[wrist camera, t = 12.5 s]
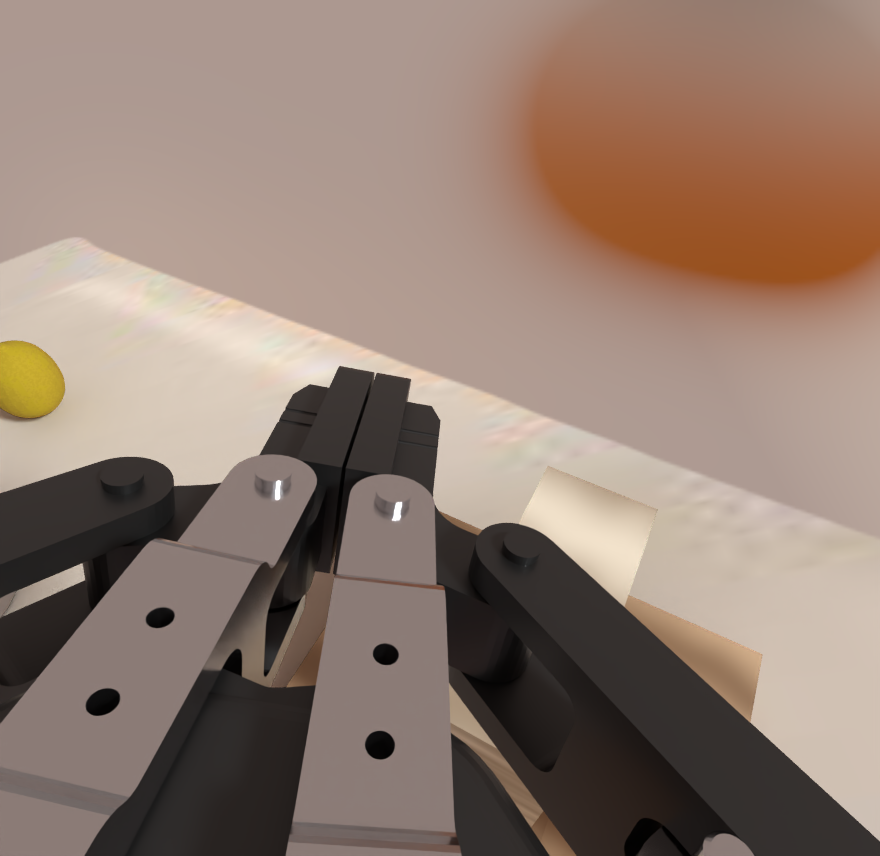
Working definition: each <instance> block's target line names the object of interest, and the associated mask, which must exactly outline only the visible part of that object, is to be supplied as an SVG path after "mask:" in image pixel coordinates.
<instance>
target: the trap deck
mask: <svg viewBox="0 0 880 856" xmlns="http://www.w3.org/2000/svg"><path fill="white" fill-rule="evenodd" d="M439 512H440V511H439ZM440 513H441V514H442V515H443V516H444V517H445V518H446V519H447V520H448V521H450V522H451V523H453V524H454V525H456V526H457V527H460V528H462V529H464V530H466V531H468V532H471V533H473V534H476V535H479V534H480V533H481V531H482V530H480V529H478V528H476V527H474V526H471V525H469V524H467V523H465V522H462V521H460V520H458V519H456V518H453V517H451V516H449V515H447V514H444V513H442V512H440ZM625 608H626V609H627V610H628V611H629V612H630V613H631V614H633V615H634V616H635V617H636V618H637V619H638V620H639V621H640V622H641V623H642V624H643V625H645V626H646V627H647V628H648V629H649V630H650V631H651V632H652V633H653V634H654V635H655V636H656V637H658V638H659V639H660V640H661V641H662V642H663V643H664V644H665V645H666V646H667V647H668V648H670V649H671V650H672V651H673V652H674V653H675V654H676V655H677V656H678V657H679V658H680V659H682V660H683V661H684V662H685V663H686V664H687V665H688V666H689V667H690V668H691V669H692V670H694V671H695V672H696V673H697V674H698V675H699V676H700V677H701V678H702V679H703V680H704V681H705V682H707V683H708V684H709V685H710V686H711V687H712V688H713V689H714V690H715V691H716V692H717V693H719V694H720V695H721V696H722V697H723V698H724V699H725V700H726V701H727V702H728V703H729V704H731V705H732V706H733V707H734V708H735V709H736V710H737V711H738V712H739V713H740V714H741V715H743V716H744V717H745V718H746V719H747V720H748V721H749V722H750V721H751V715H752V710H753V704H754V699H755V693H756V687H757V682H758V676H759V671H760V665H761V660H762V654H760V653H758V652H756V651H754V650H751V649H749V648H747V647H745V646H742V645H740V644H738V643H736V642H733V641H731V640H729V639H726V638H724V637H722V636H720V635H717V634H715V633H713V632H711V631H708V630H706V629H704V628H702V627H699V626H697V625H695V624H693V623H690V622H688V621H686V620H684V619H681V618H679V617H677V616H675V615H672V614H670V613H668V612H666V611H663V610H661V609H659V608H656V607H654V606H652V605H650V604H647V603H645V602H643V601H641V600H638V599H636V598H634V597H632V596H629V595H628V598H627V601H626V604H625ZM325 629H326V627H325ZM325 629H324V630H323V632H322V633H321V635H320V636H319V638H318V639H317V641H316V642H315V644H314V645H313V647H312V648H311V650H310V652H309V653H308V655H307V656H306V658H305V659H304V661H303V662H302V664H301V665H300V667H299V668H298V670H297V671H296V673H295V674H294V676H293V677H292V679H291V680H290V682H289V683H288V685H287V686H286V687H296V686H311V685H316V682H317V676H318V670H319V664H320V659H321V653H322V647H323V641H324V635H325ZM531 828H532V830H533V831H534V833H535V834H536V836H537V837H538V839H539V840H540V842H541V843H542V845H543V846H544V848H545V849H546V851H547V852H548V854H549V855H550V856H576V854H575V853H574V852H573V850H572V849H571V848H570V846H569V845H568V843H567V842H566V841H565V839H564V838H563V837H562V835H561V834H560V833H559V831H558V830H557V829H556V827H555V826H554V825H553V823H552V822H551V821H550V819H549V818H548V816H547V815H546V814H545V812H544V811H543V812H542V814H541V815H540V816H539V818H538V819H537V820H536V822H535V823H534V824H533V826H532V827H531Z"/></svg>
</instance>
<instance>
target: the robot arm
mask: <svg viewBox="0 0 880 856" xmlns="http://www.w3.org/2000/svg"><path fill="white" fill-rule="evenodd" d="M410 383H411V379H408V378H403V377H397V376H392V375H386V374H381V373H377V374H376V377H375V380H374V372H369V371H364V370H358V369H353V368H347V367H342V366H339V368H338V370H337V372H336V374H335V376H334V379H333V381H332V383H331V385H330V387H329V388H327V387H322V386H316V385H311V384H310V385H308V386H306V387H305V388H303V389H301V390H300V391H298V392H296V393H295V394H293V396H292V397H291V399H290V401H289V403H288V405H287V406H286V409H285V411H284V412H283V414H282V415H281V417H280V420H279V422H278V423H277V424H276V426H275V428H274V430H273V432H272V433H271V435H270V437H269V439H268V441H267V442H266V444H265V446H264V448H263V450H262V451H261V453H260V455H259V456H255V457H251V458H248V459H246V460H244V461H242V462H240V463H238V464H237V465H236V466H235V467H234V468H233V469H232V470H231V471H230V472H229V474H228V475H227V476H226V478H225V479H224V480H223V482H222V483H218V484H211V485H193V486H174V480H173V475H172V473H171V471H170V470H169V469H168V468H167V467H166V466H164V465H163V464H161V463H159V462H157V461H154V460H151V459H147V458H141V457H119V458H113V459H108V460H104V461H101V462H97V463H94V464H91V465H88V466H85V467H82V468H79V469H76V470H72V471H69V472H66V473H63V474H60V475H57V476H54V477H50V478H47V479H44V480H41V481H38V482H35V483H32V484H28V485H25V486H22V487H19V488H16V489H13V490H10V491H7V492H3V493H0V856H550V855H549V854H548V852H547V851H546V849H545V848H544V846H543V845H542V843H541V842H540V840H539V839H538V837H537V836H536V834H535V833H534V831H533V830H532V828H531V827H530V825H529V824H528V822H527V821H526V819H525V818H524V816H523V815H522V813H521V812H520V810H519V809H518V807H517V806H516V804H515V803H514V801H513V800H512V798H511V797H510V795H509V794H508V792H507V791H506V789H505V788H504V786H503V785H502V784H501V782H500V781H499V779H498V778H497V777H496V775H495V774H494V773H493V771H492V770H491V769H490V768H489V767H488V766H487V764H486V763H485V762H484V761H483V760H482V759H481V757H480V756H479V755H478V754H476V753H475V752H474V751H473V750H472V749H471V748H470V747H469V746H468V745H467V744H466V743H464V742H463V741H461V740H460V739H459V738H457V737H456V736H455V735H453V734H452V733H451V725H450V699H449V684H450V685H451V687H452V688H453V689H454V691H455V692H456V693H457V695H458V696H459V698H460V699H461V700H462V702H463V703H464V704H465V706H466V707H467V708H468V710H469V711H470V712H471V714H472V715H473V716H474V718H475V719H476V720H477V722H478V723H479V725H480V726H481V727H482V729H483V730H484V731H485V733H486V734H487V735H488V737H489V738H490V739H491V741H492V742H493V743H494V745H495V746H496V748H497V749H498V750H499V752H500V753H501V754H502V756H503V757H504V758H505V760H506V761H507V762H508V764H509V765H510V766H511V768H512V769H513V770H514V772H515V773H516V775H517V776H518V777H519V779H520V780H521V781H522V783H523V784H524V785H525V787H526V788H527V789H528V791H529V792H530V793H531V795H532V796H533V798H534V799H535V800H536V802H537V803H538V804H539V806H540V807H541V808H542V810H543V811H544V812H545V814H546V815H547V816H548V818H549V819H550V821H551V822H552V823H553V825H554V826H555V827H556V829H557V830H558V831H559V833H560V834H561V835H562V837H563V838H564V839H565V841H566V842H567V843H568V845H569V846H570V848H571V849H572V850H573V852H574V853H575V854H576V856H880V841H879V840H878V839H876V838H875V837H874V836H873V835H872V834H871V833H870V832H869V831H868V830H867V829H866V828H864V827H863V826H862V825H861V824H860V823H859V822H858V821H857V820H856V819H855V818H854V817H852V816H851V815H850V814H849V813H848V812H847V811H846V810H845V809H844V808H843V807H842V806H841V805H839V804H838V803H837V802H836V801H835V800H834V799H833V798H832V797H831V796H830V795H829V794H827V793H826V792H825V791H824V790H823V789H822V788H821V787H820V786H819V785H818V784H817V783H815V782H814V781H813V780H812V779H811V778H810V777H809V776H808V775H807V774H806V773H805V772H803V771H802V770H801V769H800V768H799V767H798V766H797V765H796V764H795V763H794V762H793V761H792V760H790V759H789V758H788V757H787V756H786V755H785V754H784V753H783V752H782V751H781V750H780V749H778V748H777V747H776V746H775V745H774V744H773V743H772V742H771V741H770V740H769V739H768V738H766V737H765V736H764V735H763V734H762V733H761V732H760V731H759V730H758V729H757V728H756V727H754V726H753V725H752V724H751V723H750V722H749V721H748V720H747V719H746V718H745V717H744V716H743V715H741V714H740V713H739V712H738V711H737V710H736V709H735V708H734V707H733V706H732V705H731V704H729V703H728V702H727V701H726V700H725V699H724V698H723V697H722V696H721V695H720V694H719V693H717V692H716V691H715V690H714V689H713V688H712V687H711V686H710V685H709V684H708V683H707V682H705V681H704V680H703V679H702V678H701V677H700V676H699V675H698V674H697V673H696V672H695V671H694V670H692V669H691V668H690V667H689V666H688V665H687V664H686V663H685V662H684V661H683V660H682V659H680V658H679V657H678V656H677V655H676V654H675V653H674V652H673V651H672V650H671V649H670V648H668V647H667V646H666V645H665V644H664V643H663V642H662V641H661V640H660V639H659V638H658V637H656V636H655V635H654V634H653V633H652V632H651V631H650V630H649V629H648V628H647V627H646V626H645V625H643V624H642V623H641V622H640V621H639V620H638V619H637V618H636V617H635V616H634V615H633V614H631V613H630V612H629V611H628V610H627V609H626V608H625V607H624V606H623V605H622V604H621V603H619V602H618V601H617V600H616V599H615V598H614V597H613V596H612V595H611V594H610V593H609V592H607V591H606V590H605V589H604V588H603V587H602V586H601V585H600V584H599V583H598V582H597V581H596V580H594V579H593V578H592V577H591V576H590V575H589V574H588V573H587V572H586V571H585V570H584V569H582V568H581V567H580V566H579V565H578V564H577V563H576V562H575V561H574V560H573V559H572V558H570V557H569V556H568V555H567V554H566V553H565V552H564V551H563V550H562V549H561V548H560V547H558V546H557V545H556V544H555V543H554V542H553V541H552V540H551V539H550V538H548V537H547V536H546V535H544V534H543V533H541V532H539V531H537V530H535V529H533V528H530V527H528V526H524V525H520V524H515V523H499V524H495V525H491V526H489V527H487V528H485V529H484V530H482V531H481V533H480V534H479V535H476V534H473V533H471V532H468V531H466V530H464V529H462V528H460V527H457V526H456V525H454V524H453V523H451V522H450V521H448V520H447V519H446V518H445V517H444V516H443V515H442V514H441V513H440V512H439V511H438V509H437V508H436V506H435V504H434V500H433V487H434V478H435V468H436V458H437V448H438V439H439V438H438V437H439V429H440V419H439V418H438V416H437V414H436V413H435V411H434V409H433V408H432V406H427V405H422V404H416V403H411V402H407V401H408V395H409V389H410ZM335 552H336V555H335ZM334 556H335V563H334V571H333V574H335V577H334V582H333V588H332V594H331V600H330V606H329V612H328V617H327V623H326V629H325V635H324V641H323V647H322V653H321V659H320V664H319V670H318V676H317V682H316V685H311V686H296V687H282V688H271V686H272V684H273V681H274V679H275V676H276V674H277V672H278V669H279V667H280V665H281V662H282V660H283V658H284V655H285V653H286V650H287V648H288V646H289V643H290V641H291V639H292V636H293V634H294V631H295V629H296V627H297V624H298V622H299V620H300V617H301V615H302V613H303V610H304V608H305V604H306V595H307V591H308V590H309V588H310V585H311V583H312V579H313V576H314V573H315V571H319V572H324V573H330V570H331V566H332V563H333V559H334ZM81 563H83V568H84V575H85V581H83V582H80V583H78V584H76V585H74V586H71V587H69V588H67V589H65V590H62V591H60V592H58V593H56V594H53V595H51V596H49V597H47V598H44V599H42V600H40V601H37V602H35V603H33V604H31V605H28V606H26V607H24V608H22V609H19V610H17V611H15V612H13V613H10V614H8V615H6V616H4V617H2V615H3V614H4V612H5V611H6V610H7V608H8V607H9V605H10V603H11V601H12V599H13V597H14V595H15V593H16V591H17V590H19V589H22V588H24V587H27V586H29V585H31V584H34V583H36V582H38V581H41V580H43V579H45V578H48V577H50V576H53V575H55V574H57V573H60V572H62V571H64V570H67V569H69V568H72V567H74V566H76V565H79V564H81Z"/></svg>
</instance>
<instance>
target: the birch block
mask: <svg viewBox="0 0 880 856" xmlns="http://www.w3.org/2000/svg"><path fill="white" fill-rule="evenodd" d="M657 511H658V509H655V508H653V507H650V506H648V505H645V504H642V503H640V502H637V501H635V500H632V499H630V498H627V497H625V496H622V495H620V494H617V493H615V492H612V491H610V490H607V489H605V488H602V487H600V486H597V485H595V484H592V483H590V482H587V481H585V480H582V479H580V478H577V477H574V476H572V475H569V474H567V473H564V472H562V471H559V470H557V469H554V468H552V467H549V466H548V467H547V469H546V471H545V472H544V474H543V476H542V478H541V480H540V482H539V484H538V486H537V488H536V490H535V492H534V494H533V496H532V498H531V500H530V502H529V504H528V506H527V508H526V510H525V512H524V514H523V516H522V518H521V520H520V522H519V524H520V525H524V526H528V527H530V528H533V529H535V530H537V531H539V532H541V533H543V534H544V535H546V536H547V537H548V538H550V539H551V540H552V541H553V542H554V543H555V544H556V545H557V546H558V547H560V548H561V549H562V550H563V551H564V552H565V553H566V554H567V555H568V556H569V557H570V558H572V559H573V560H574V561H575V562H576V563H577V564H578V565H579V566H580V567H581V568H582V569H584V570H585V571H586V572H587V573H588V574H589V575H590V576H591V577H592V578H593V579H594V580H596V581H597V582H598V583H599V584H600V585H601V586H602V587H603V588H604V589H605V590H606V591H607V592H609V593H610V594H611V595H612V596H613V597H614V598H615V599H616V600H617V601H618V602H619V603H621V604H622V605H623V606H624V607H625V604H626V601H627V598H628V595H629V592H630V589H631V586H632V583H633V580H634V578H635V575H636V572H637V569H638V566H639V563H640V560H641V557H642V554H643V551H644V549H645V546H646V543H647V540H648V537H649V534H650V531H651V528H652V525H653V522H654V520H655V517H656V514H657ZM449 699H450V725H451V733H452V734H453V735H455V736H456V737H457V738H459V739H460V740H461V741H463V742H464V743H466V744H467V745H468V746H469V747H470V748H471V749H472V750H473V751H474V752H475V753H476V754H478V755H479V756H480V757H481V759H482V760H483V761H484V762H485V763H486V764H487V766H488V767H489V768H490V769H491V770H492V771H493V773H494V774H495V775H496V777H497V778H498V779H499V781H500V782H501V784H502V785H503V786H504V788H505V789H506V791H507V792H508V794H509V795H510V797H511V798H512V800H513V801H514V803H515V804H516V806H517V807H518V809H519V810H520V812H521V813H522V815H523V816H524V818H525V819H526V821H527V822H528V824H529V825H530V827H532V826H533V824H534V823H535V822H536V820H537V819H538V818H539V816H540V815H541V814H542V812H543V810H542V808H541V807H540V806H539V804H538V803H537V802H536V800H535V799H534V798H533V796H532V795H531V793H530V792H529V791H528V789H527V788H526V787H525V785H524V784H523V783H522V781H521V780H520V779H519V777H518V776H517V775H516V773H515V772H514V770H513V769H512V768H511V766H510V765H509V764H508V762H507V761H506V760H505V758H504V757H503V756H502V754H501V753H500V752H499V750H498V749H497V748H496V746H495V745H494V743H493V742H492V741H491V739H490V738H489V737H488V735H487V734H486V733H485V731H484V730H483V729H482V727H481V726H480V725H479V723H478V722H477V720H476V719H475V718H474V716H473V715H472V714H471V712H470V711H469V710H468V708H467V707H466V706H465V704H464V703H463V702H462V700H461V699H460V698H459V696H458V695H457V693H456V692H455V691H454V689H453V688H452V687H451V685H450V684H449Z"/></svg>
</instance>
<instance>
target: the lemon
mask: <svg viewBox="0 0 880 856" xmlns="http://www.w3.org/2000/svg"><path fill="white" fill-rule="evenodd" d="M64 393H65V383H64V378H63V375H62V373H61V371H60V369H59V367H58V366H57V364H56V363H55V361H54V360H53V359H52V358H51V357H50V356H49V355H48V354H47V353H46V352H44V351H43V350H42V349H40V348H39V347H37V346H36V345H33V344H31V343H28V342H24V341H6V342H1V343H0V408H1V409H3V410H4V411H6V412H8V413H10V414H12V415H14V416H18V417H23V418H35V417H40V416H43V415H46V414H48V413H50V412H51V411H53V410H54V409H55V408H56V407H57V406H58V405H59V404H60V402H61V401H62V399H63V396H64Z"/></svg>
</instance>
